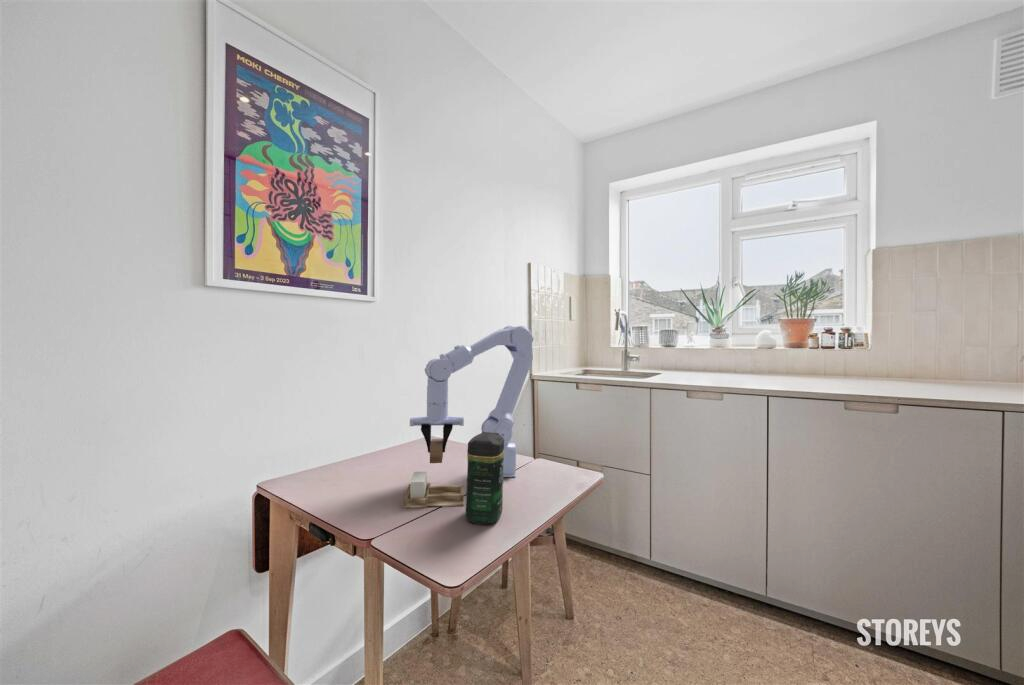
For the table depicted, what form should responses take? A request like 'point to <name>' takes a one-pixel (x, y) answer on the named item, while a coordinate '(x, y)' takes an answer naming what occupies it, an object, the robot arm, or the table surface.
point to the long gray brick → (418, 485)
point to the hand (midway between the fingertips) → (436, 451)
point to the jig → (437, 496)
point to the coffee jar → (485, 478)
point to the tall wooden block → (436, 451)
